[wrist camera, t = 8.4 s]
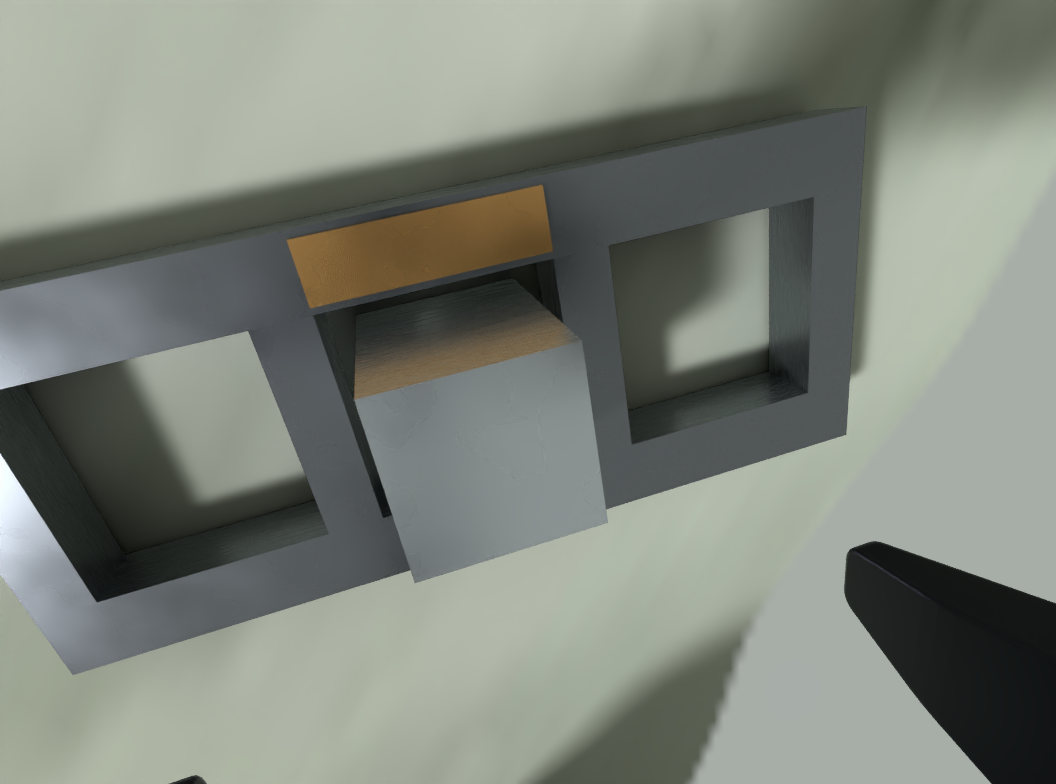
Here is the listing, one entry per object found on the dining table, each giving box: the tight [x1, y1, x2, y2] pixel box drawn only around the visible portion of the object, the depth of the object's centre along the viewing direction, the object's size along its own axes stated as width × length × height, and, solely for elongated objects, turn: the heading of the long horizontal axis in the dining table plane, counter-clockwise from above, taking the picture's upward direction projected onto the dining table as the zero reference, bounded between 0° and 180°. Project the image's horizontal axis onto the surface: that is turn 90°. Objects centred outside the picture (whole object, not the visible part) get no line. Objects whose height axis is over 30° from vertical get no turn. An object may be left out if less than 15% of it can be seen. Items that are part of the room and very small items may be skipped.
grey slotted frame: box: [0, 106, 867, 675], centre depth 17 cm, size 10×24×2 cm, turn 100°
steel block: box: [354, 278, 608, 583], centre depth 15 cm, size 4×4×6 cm
